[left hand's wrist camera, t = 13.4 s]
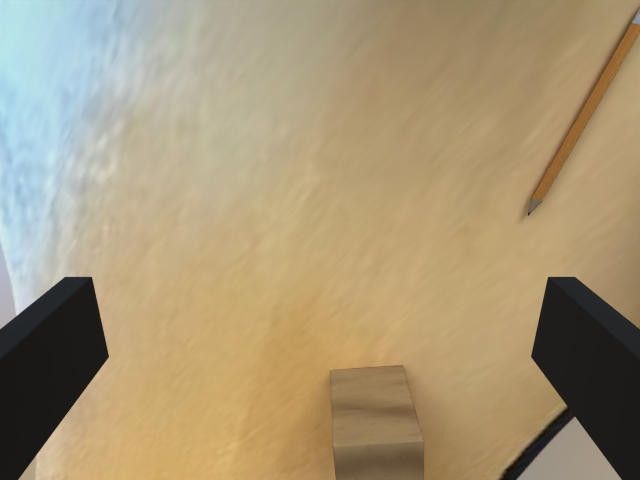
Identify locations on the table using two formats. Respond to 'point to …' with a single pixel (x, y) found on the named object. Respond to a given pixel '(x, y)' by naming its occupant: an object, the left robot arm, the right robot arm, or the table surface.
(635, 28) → the pencil
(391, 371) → the box
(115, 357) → the table surface
